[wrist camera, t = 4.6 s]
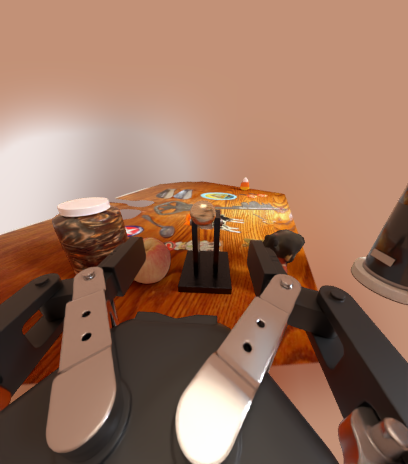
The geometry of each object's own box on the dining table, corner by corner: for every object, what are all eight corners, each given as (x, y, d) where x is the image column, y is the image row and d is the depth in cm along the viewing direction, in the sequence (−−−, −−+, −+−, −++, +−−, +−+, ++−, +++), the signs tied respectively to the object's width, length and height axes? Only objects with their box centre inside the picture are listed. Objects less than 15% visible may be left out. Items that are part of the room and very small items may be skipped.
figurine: (276, 304, 28) (294, 246, 23) (251, 284, 32) (260, 231, 27) (295, 288, 32) (314, 233, 26) (270, 272, 36) (282, 222, 30)
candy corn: (239, 190, 106) (240, 177, 103) (239, 189, 109) (241, 176, 105) (249, 190, 105) (250, 177, 102) (249, 189, 108) (250, 177, 104)
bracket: (231, 294, 30) (238, 228, 24) (178, 291, 31) (171, 226, 25) (227, 256, 41) (231, 203, 35) (187, 255, 41) (184, 203, 35)
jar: (123, 245, 46) (108, 192, 39) (139, 264, 38) (125, 203, 31) (72, 262, 39) (44, 202, 32) (79, 290, 31) (44, 218, 24)
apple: (159, 258, 40) (154, 229, 37) (180, 276, 34) (177, 244, 31) (123, 275, 35) (113, 243, 31) (141, 300, 29) (131, 265, 26)
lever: (215, 225, 19) (216, 197, 19) (188, 224, 19) (189, 197, 19) (214, 231, 32) (215, 215, 32) (198, 230, 32) (198, 214, 32)
